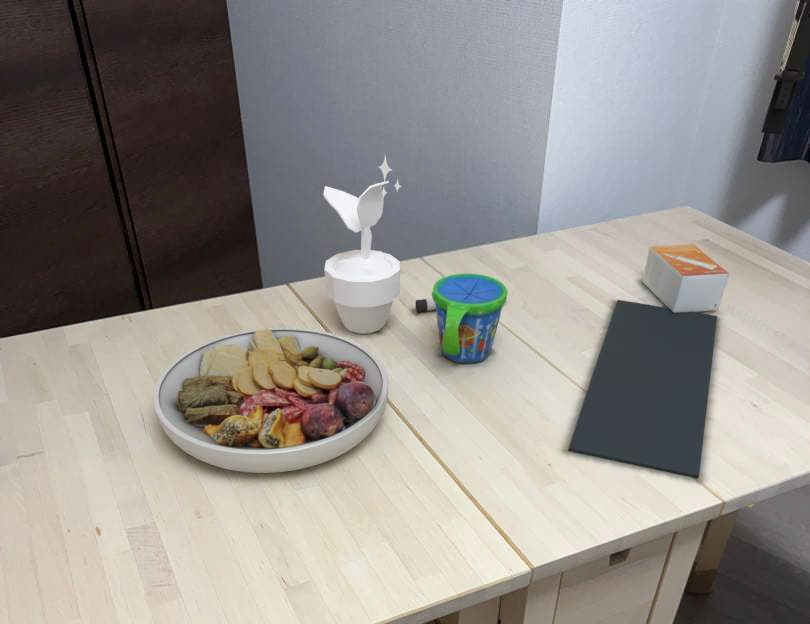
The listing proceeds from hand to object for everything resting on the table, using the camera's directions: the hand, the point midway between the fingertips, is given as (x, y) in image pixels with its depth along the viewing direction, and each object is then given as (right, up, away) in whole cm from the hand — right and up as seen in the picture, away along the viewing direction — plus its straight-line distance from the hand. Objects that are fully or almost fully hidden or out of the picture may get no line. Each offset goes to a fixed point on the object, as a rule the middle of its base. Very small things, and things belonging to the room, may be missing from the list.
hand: (771, 131), depth 106 cm
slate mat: (-17, -35, +2) cm, 38 cm away
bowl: (-70, -42, -6) cm, 82 cm away
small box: (-7, -10, +23) cm, 26 cm away
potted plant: (-59, -24, +12) cm, 65 cm away
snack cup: (-43, -30, +6) cm, 53 cm away
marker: (-43, -20, +17) cm, 50 cm away
